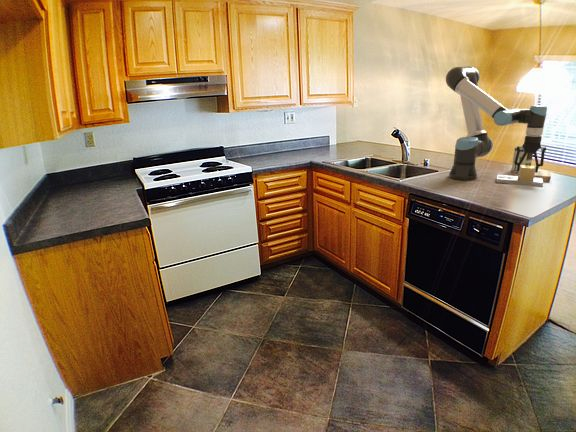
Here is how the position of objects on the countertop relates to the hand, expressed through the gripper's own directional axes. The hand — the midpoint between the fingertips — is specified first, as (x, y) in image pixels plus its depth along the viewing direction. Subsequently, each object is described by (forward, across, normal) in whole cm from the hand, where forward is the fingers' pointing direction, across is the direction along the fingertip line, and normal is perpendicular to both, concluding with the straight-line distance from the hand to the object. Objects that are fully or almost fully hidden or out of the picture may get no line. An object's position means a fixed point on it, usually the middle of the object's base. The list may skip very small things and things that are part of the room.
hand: (525, 177), depth 207 cm
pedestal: (+3, +6, +13) cm, 15 cm away
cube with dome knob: (+3, 0, 0) cm, 3 cm away
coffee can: (+3, -2, +30) cm, 30 cm away
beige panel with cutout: (+3, -3, 0) cm, 4 cm away
